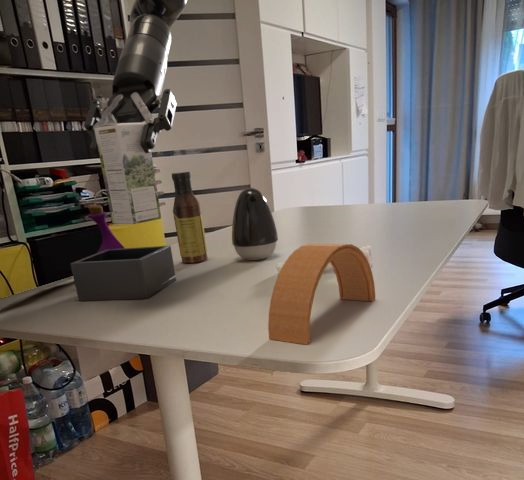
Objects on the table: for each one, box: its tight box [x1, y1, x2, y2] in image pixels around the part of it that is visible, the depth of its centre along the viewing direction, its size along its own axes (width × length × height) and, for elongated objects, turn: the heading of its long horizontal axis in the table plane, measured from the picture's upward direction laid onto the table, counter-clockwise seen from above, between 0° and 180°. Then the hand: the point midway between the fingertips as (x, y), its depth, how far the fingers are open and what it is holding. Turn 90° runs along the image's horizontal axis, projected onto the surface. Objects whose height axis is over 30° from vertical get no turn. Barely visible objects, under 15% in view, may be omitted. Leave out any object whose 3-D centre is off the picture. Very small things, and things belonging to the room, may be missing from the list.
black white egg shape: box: [231, 187, 279, 261], centre depth 115 cm, size 10×10×15 cm
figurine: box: [275, 243, 373, 273], centre depth 98 cm, size 17×5×18 cm
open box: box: [69, 245, 177, 302], centre depth 98 cm, size 14×13×7 cm
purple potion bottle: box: [87, 189, 125, 253], centre depth 115 cm, size 8×8×18 cm
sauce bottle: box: [171, 170, 208, 264], centre depth 118 cm, size 7×6×20 cm
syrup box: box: [94, 122, 162, 225], centre depth 81 cm, size 6×6×14 cm
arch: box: [267, 243, 376, 345], centre depth 70 cm, size 6×20×10 cm, turn 144°
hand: (120, 151), depth 78 cm, fingers closed on syrup box, 7 cm apart
